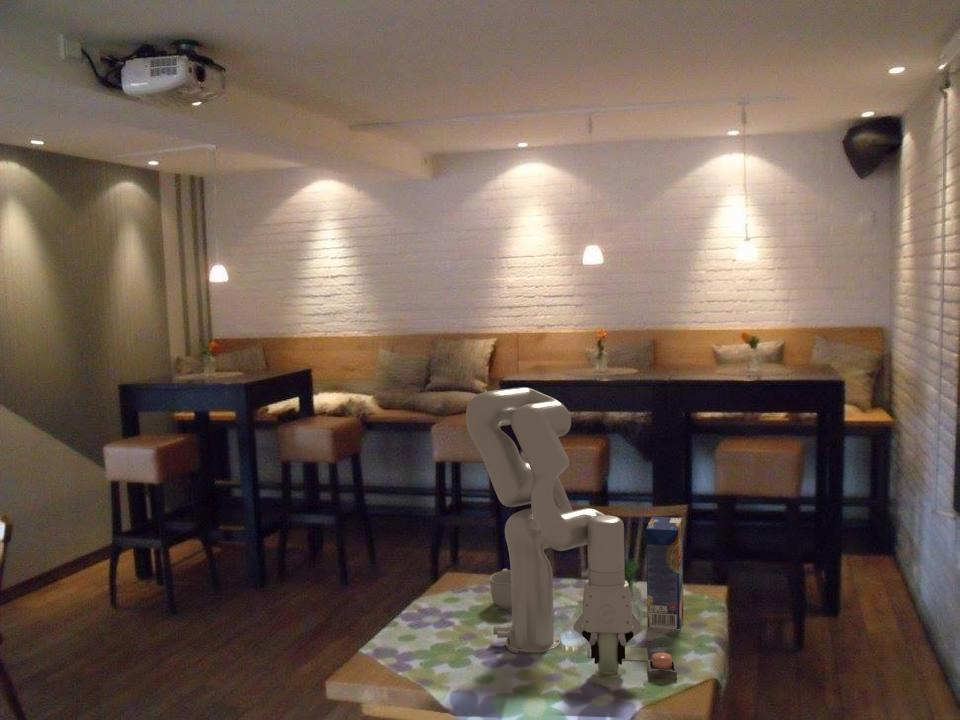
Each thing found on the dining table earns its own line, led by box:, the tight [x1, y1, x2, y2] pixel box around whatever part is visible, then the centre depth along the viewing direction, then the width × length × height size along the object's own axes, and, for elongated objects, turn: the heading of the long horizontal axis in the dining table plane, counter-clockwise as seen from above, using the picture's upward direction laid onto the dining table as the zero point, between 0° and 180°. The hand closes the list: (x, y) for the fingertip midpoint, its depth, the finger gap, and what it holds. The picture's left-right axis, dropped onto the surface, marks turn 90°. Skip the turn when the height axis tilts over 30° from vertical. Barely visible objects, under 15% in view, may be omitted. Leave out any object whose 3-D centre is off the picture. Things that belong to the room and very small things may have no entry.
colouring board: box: [587, 646, 678, 681], centre depth 195 cm, size 20×20×3 cm
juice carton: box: [645, 516, 685, 630], centre depth 222 cm, size 12×8×24 cm, turn 163°
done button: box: [651, 652, 673, 670], centre depth 189 cm, size 4×4×2 cm
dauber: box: [596, 633, 620, 676], centre depth 190 cm, size 4×4×11 cm
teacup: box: [489, 568, 512, 610], centre depth 237 cm, size 14×11×8 cm
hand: (608, 660), depth 191 cm, fingers closed on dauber, 4 cm apart
